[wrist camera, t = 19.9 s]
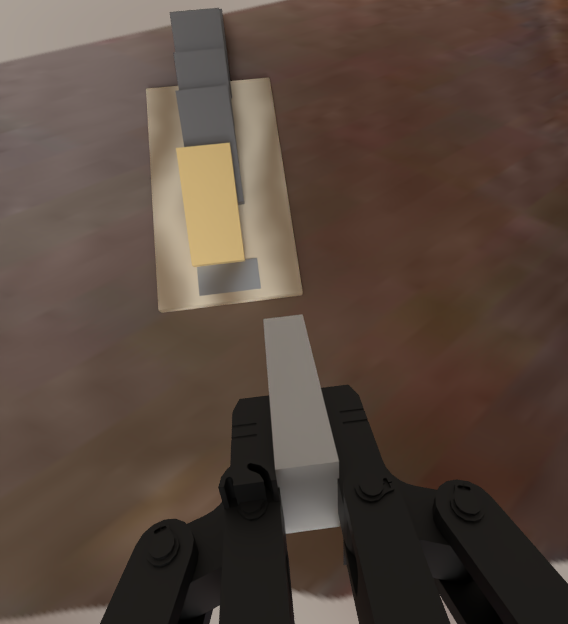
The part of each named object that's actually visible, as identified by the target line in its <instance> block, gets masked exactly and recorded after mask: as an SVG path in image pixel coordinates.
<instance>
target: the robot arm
mask: <svg viewBox="0 0 568 624" xmlns="http://www.w3.org/2000/svg"><path fill="white" fill-rule="evenodd" d="M263 320H264V333H265V346H266V359H267V372H268V384H269V396H261V397H253V398H245V399H239V401H238V403H237V405H236V407H235V408H234V410H233V414H232V440H231V465H230V467H229V468H228V469H227V470H226V471H225V473H224V474H223V476H222V477H221V480H220V484H219V487H218V488H219V492H220V495H221V498H222V502H221V504H220V505H219V506H218V507H217V508H216V509H214V510H213V511H212V512H210V513H208V514H207V515H205V516H203V517H201V518H199V519H196V520H194V521H192V522H190V523H188V524H186V523H185V522H183V521H180V520H177V519H167V520H163V521H161V522H158V523H156V524H154V525H152V526H151V527H150V528H149V529H148V530H147V531H146V532H145V533H143V535H142V536H141V538H140V539H139V541H138V543H137V544H136V546H135V548H134V550H133V552H132V555H131V557H130V559H129V561H128V563H127V566H126V568H125V570H124V572H123V574H122V577H121V579H120V581H119V583H118V585H117V587H116V590H115V592H114V594H113V596H112V598H111V601H110V603H109V605H108V607H107V609H106V612H105V614H104V616H103V618H102V620H101V623H100V624H209V623H210V619H211V615H212V611H213V609H214V608H215V607H217V606H219V605H220V615H219V624H295V623H294V613H293V601H292V591H291V580H290V569H289V559H288V552H287V543H286V534H287V533H294V532H301V531H309V530H316V529H323V528H331V527H338V526H340V524H341V529H342V533H343V538H344V565H347V568H348V573H349V578H350V582H351V587H352V592H353V597H354V601H355V606H356V611H357V616H358V621H359V624H450V621H449V619H448V616H447V613H446V611H445V608H444V605H443V603H442V600H441V598H440V596H441V597H442V599H443V601H444V603H445V604H446V606H447V608H448V609H449V611H450V613H451V614H452V616H453V617H454V619H455V621H456V622H457V624H568V583H567V582H566V581H565V580H564V579H563V578H562V577H561V576H560V574H559V573H558V572H557V571H556V570H555V569H554V568H553V566H552V565H551V564H550V563H549V562H548V561H547V560H546V558H545V557H544V556H543V555H542V554H541V553H540V552H539V550H538V549H537V548H536V547H535V546H534V545H533V544H532V543H531V541H530V540H529V539H528V538H527V537H526V536H525V535H524V533H523V532H522V531H521V530H520V529H519V528H518V527H517V525H516V524H515V523H514V522H513V521H512V520H511V519H510V518H509V516H508V515H507V514H506V513H505V512H504V511H503V510H502V508H501V507H500V506H499V505H498V504H497V503H496V502H495V500H494V499H493V498H492V497H491V496H490V495H489V494H488V493H487V492H485V491H484V490H483V489H482V488H481V487H479V486H477V485H475V484H473V483H471V482H468V481H462V480H452V481H446V482H445V483H444V484H442V485H441V486H439V488H438V490H435V489H429V488H423V487H418V486H413V485H410V484H406V483H404V482H402V481H400V480H399V479H397V478H396V477H395V476H393V475H392V474H391V473H390V472H389V470H388V469H387V468H386V466H385V464H384V462H383V460H382V458H381V455H380V452H379V449H378V447H377V444H376V441H375V438H374V436H373V433H372V430H371V427H370V425H369V422H368V420H367V416H366V414H365V411H364V409H363V406H362V403H361V400H360V397H359V395H358V394H357V393H356V392H355V391H354V390H353V389H352V388H351V387H350V386H349V385H342V386H334V387H326V388H321V387H320V383H319V379H318V375H317V371H316V367H315V363H314V359H313V355H312V351H311V347H310V343H309V339H308V335H307V331H306V327H305V323H304V319H303V315H295V316H286V317H278V318H269V319H263ZM439 594H440V595H439Z"/></svg>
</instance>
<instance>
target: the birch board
mask: <svg viewBox="0 0 568 624" xmlns="http://www.w3.org/2000/svg"><path fill="white" fill-rule="evenodd" d="M230 83H231V91H232V98H231V102H232V110H233V117H234V125H235V126H234V127H235V135H236V143H237V150H238V158H239V166H240V167H239V168H240V175H241V182H242V189H243V196H244V203H245V204H241V205H238V208H239V216H240V224H241V232H242V239H243V247H244V255H245V261H242V262H233V263H225V264H216V265H208V266H200V267H194V266H192V262H191V255H190V248H189V240H188V233H187V226H186V218H185V211H184V203H183V196H182V189H181V181H180V174H179V167H178V159H177V152H176V148H181V147H184V142H183V136H182V130H181V123H180V117H179V111H178V104H177V98H176V92H175V91H178V90H179V88H178V86H171V87H160V88H149V89H146V95H147V112H148V130H149V148H150V166H151V184H152V202H153V219H154V237H155V255H156V273H157V291H158V309H159V311H160V312H161V313H163V312H171V311H179V310H187V309H195V308H203V307H211V306H219V305H227V304H235V303H243V302H251V301H260V300H268V299H276V298H284V297H292V296H300V295H302V293H303V292H302V285H301V279H300V272H299V266H298V259H297V253H296V246H295V240H294V233H293V227H292V221H291V214H290V208H289V201H288V195H287V188H286V182H285V175H284V169H283V162H282V156H281V149H280V143H279V136H278V130H277V123H276V117H275V110H274V104H273V97H272V91H271V84H270V78H259V79H248V80H237V81H230Z"/></svg>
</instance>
